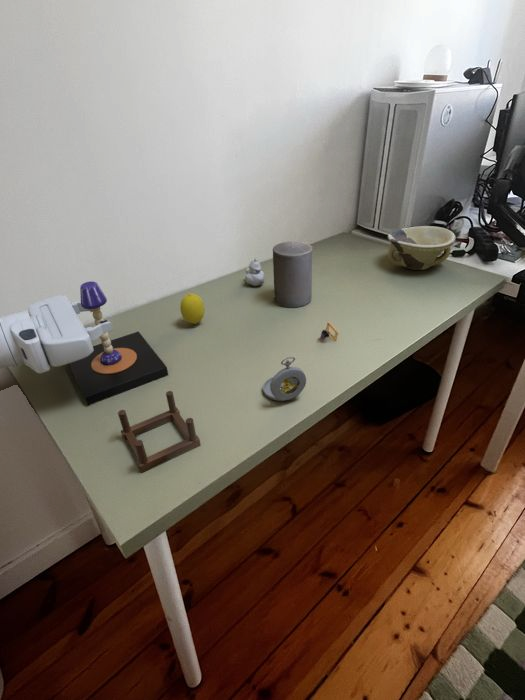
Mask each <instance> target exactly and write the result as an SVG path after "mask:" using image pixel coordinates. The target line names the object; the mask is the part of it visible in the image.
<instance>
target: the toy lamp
mask: <svg viewBox="0 0 525 700" xmlns="http://www.w3.org/2000/svg"><path fill="white" fill-rule="evenodd" d="M79 291H80V301H81V306H82V307H83V308H85V309H91V311H92V312H91V313H92V318H93V319H94V324H95V326H97V325H98V324H100V321H105V319H104V318H103V312H102V311H101V307H103V306H104V305H106V304H107V301H108V300H107V297H106V295H105V293H104V292H103V290H102V289H101V287H100V285H99V284H98V282H96V281H93V280H92V281H85V282H83V283H81V284H80V289H79ZM109 335H110V334H109V332H106V333H104V334H103V335H101V336H100V337H99V339H100V340H101V343H102V345H103V346H104V351H105V352H104V353H103V354H102V355H101V358H100V361H101V363H102V364H103V365H113V364H115V363H117V362H119V361H120V360H121V358H122V355H121V354H120V352H118V351H117V350H113V347H112V345H111V341H110V340H111V339H110V336H109Z"/></svg>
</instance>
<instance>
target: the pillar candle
mask: <svg viewBox="0 0 525 700" xmlns="http://www.w3.org/2000/svg"><path fill="white" fill-rule="evenodd" d="M272 266H273V268H272V269H273V271H272V273H273V293H274V297H273V301H274V302H275V303H276V304H277V305H278V306H281V307H285V308H300V307H304V306H307V305H308V304H309V303H311V302H312V291H313V287H312V286H313V246H312V245H310V244H309V243H308V242H303V241H296V240H295V241H294V240H292V241H291V240H289V241H283V242H280V243H277V244H275V245H273V247H272Z"/></svg>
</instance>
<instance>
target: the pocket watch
mask: <svg viewBox="0 0 525 700" xmlns="http://www.w3.org/2000/svg"><path fill="white" fill-rule="evenodd" d="M290 359H292V361H290ZM281 360H282V361H280V364H281V365H283V366H285V368H282V369H281V370H279V371H278V372H277V373H276V374H275V375H273V377H270V378H269V379H267V380H265V382H264V383H263V386H262V390H263V394H264V395H265V396H266V397H267V398H269V399H271V400H273V401H279V402H283V401H289V400H292V399H293V398H296V397H297V396H299V395H300V394H301V393H302V392H303V391H304V389H305V387H306V385H307V378H306V374H305V372H304V371H303V370H302V369H301V368H300V367H297V366H291V365H292V363H294V362H295V361H296V358H295V357H294V356H290V357H286V358H284V359H281Z"/></svg>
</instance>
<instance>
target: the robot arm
mask: <svg viewBox="0 0 525 700" xmlns="http://www.w3.org/2000/svg"><path fill="white" fill-rule="evenodd" d="M83 312H90V313H93V312H92V311H91V309H85V308H83V307H82V306H81V300H79V301H78V300H75V301H72V302H71V301H70V300H69V297H68V296H67V295H66V294H65V295H64V294H58V295H54V296H51V297H48V298H44V299H42V300H38V301H36V302H34V303H31V304H29V306H28V307H27V308H26V309H25V310H22V311H18V312H15V313H11V314H6V315H3V316H0V369H3V368H6V367H16V366H19V365H25V366H27V367H28V368H30V369H31V370H32V371H34V372H35V373H37V374H44V373H47V372H49V371H50V370H51V367H62V366H65V365H69V363H72V362H75V361H78V360H80V359H83V358H86V357H88V356H89V355H90V354H91V353H92V352H93V351H94V349H93V346H94V345H93V342H94V341H96V340H98V339H100V336H101V335H103V334H104V333H106V332H108V333H109V332H113V330H114V328H113V327H114V326H113V324H112V322H111V320H109V319H104V321H100V324H98V325H97V326H96V325H95V326H87V327H85V326H84V324H83V322H82V320H81V319H80V317H79V316H78V315H79V314H81V313H83Z"/></svg>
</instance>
